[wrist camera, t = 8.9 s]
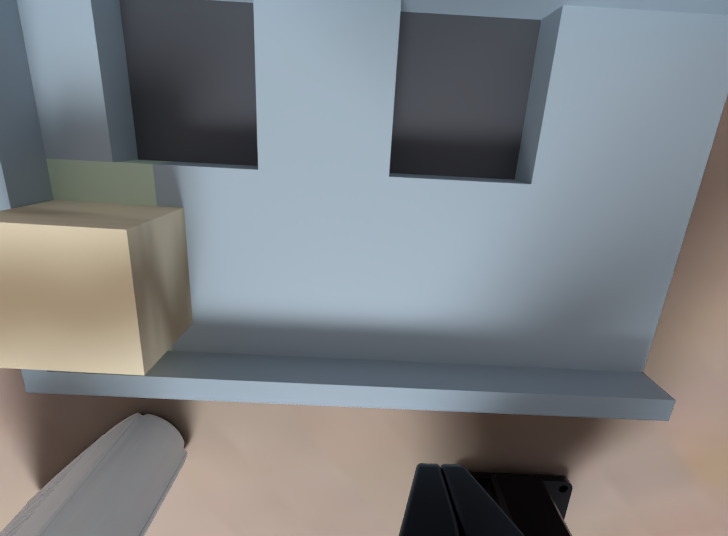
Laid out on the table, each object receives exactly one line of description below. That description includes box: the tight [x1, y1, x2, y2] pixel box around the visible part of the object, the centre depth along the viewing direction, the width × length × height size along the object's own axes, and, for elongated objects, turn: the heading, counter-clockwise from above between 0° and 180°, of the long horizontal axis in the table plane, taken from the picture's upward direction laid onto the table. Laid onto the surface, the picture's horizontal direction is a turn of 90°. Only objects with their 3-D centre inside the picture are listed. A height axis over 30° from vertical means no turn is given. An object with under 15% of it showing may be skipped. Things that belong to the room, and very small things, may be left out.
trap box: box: [0, 0, 728, 421], centre depth 16 cm, size 16×26×4 cm, turn 87°
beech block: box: [0, 200, 193, 375], centre depth 15 cm, size 5×5×4 cm
